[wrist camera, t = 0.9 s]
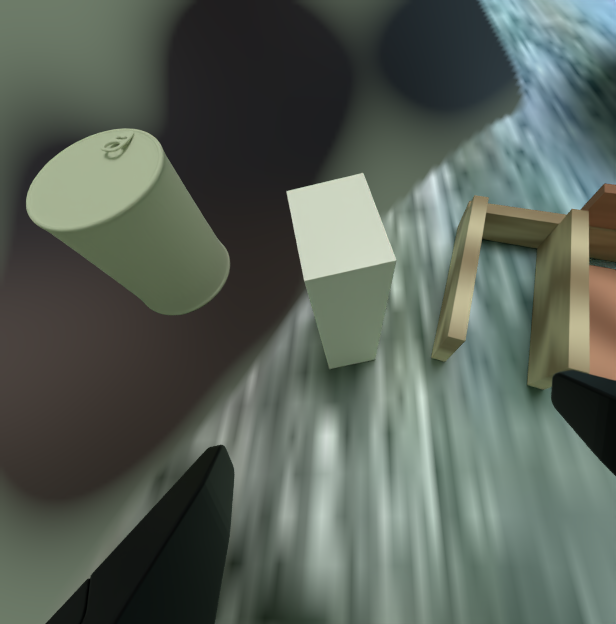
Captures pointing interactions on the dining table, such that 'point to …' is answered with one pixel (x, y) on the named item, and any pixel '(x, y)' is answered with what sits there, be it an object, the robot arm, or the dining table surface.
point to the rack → (544, 283)
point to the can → (131, 219)
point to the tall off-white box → (344, 265)
